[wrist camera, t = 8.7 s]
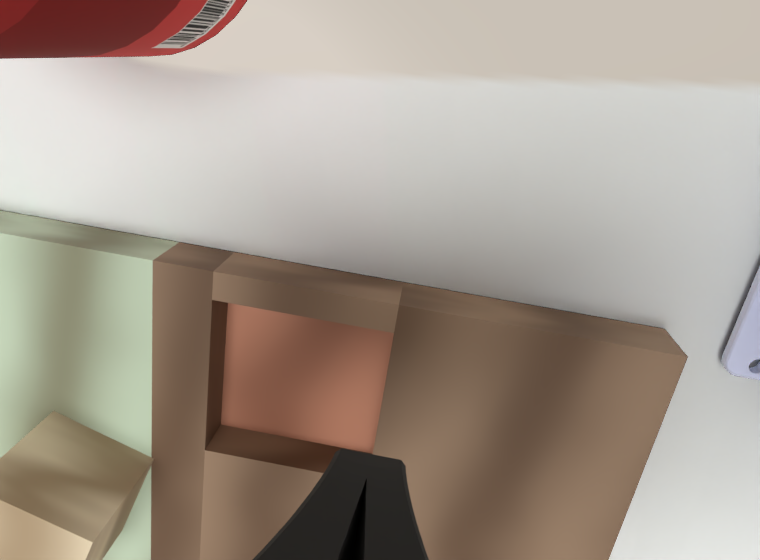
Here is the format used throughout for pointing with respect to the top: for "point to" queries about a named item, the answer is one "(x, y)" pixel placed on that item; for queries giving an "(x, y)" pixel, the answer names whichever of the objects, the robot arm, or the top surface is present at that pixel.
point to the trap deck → (325, 393)
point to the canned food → (109, 26)
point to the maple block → (66, 492)
